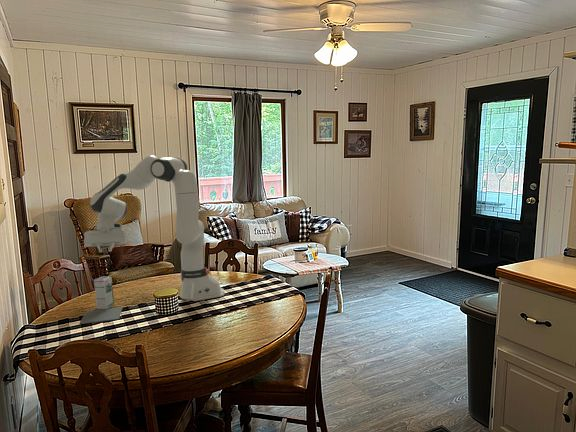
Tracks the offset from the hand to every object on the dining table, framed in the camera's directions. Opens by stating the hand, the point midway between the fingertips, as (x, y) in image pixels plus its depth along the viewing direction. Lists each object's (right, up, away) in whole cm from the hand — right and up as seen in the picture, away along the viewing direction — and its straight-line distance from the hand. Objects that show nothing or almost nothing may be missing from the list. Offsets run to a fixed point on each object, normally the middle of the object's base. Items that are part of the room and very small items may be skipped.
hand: (105, 251), depth 215 cm
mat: (+8, -27, -22) cm, 36 cm away
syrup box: (+5, -26, -10) cm, 28 cm away
